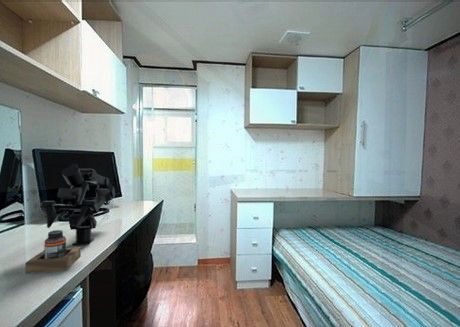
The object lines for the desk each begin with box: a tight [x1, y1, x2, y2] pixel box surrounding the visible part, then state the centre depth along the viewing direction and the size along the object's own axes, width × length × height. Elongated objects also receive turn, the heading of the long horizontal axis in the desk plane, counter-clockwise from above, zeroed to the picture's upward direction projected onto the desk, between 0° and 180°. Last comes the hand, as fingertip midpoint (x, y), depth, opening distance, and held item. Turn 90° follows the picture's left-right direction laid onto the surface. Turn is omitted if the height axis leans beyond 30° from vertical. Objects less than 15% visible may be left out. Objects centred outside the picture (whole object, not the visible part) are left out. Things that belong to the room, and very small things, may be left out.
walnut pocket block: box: [24, 246, 82, 275], centre depth 79 cm, size 11×11×4 cm
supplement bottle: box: [43, 229, 67, 259], centre depth 79 cm, size 6×6×11 cm
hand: (62, 227), depth 84 cm, fingers open, 9 cm apart
